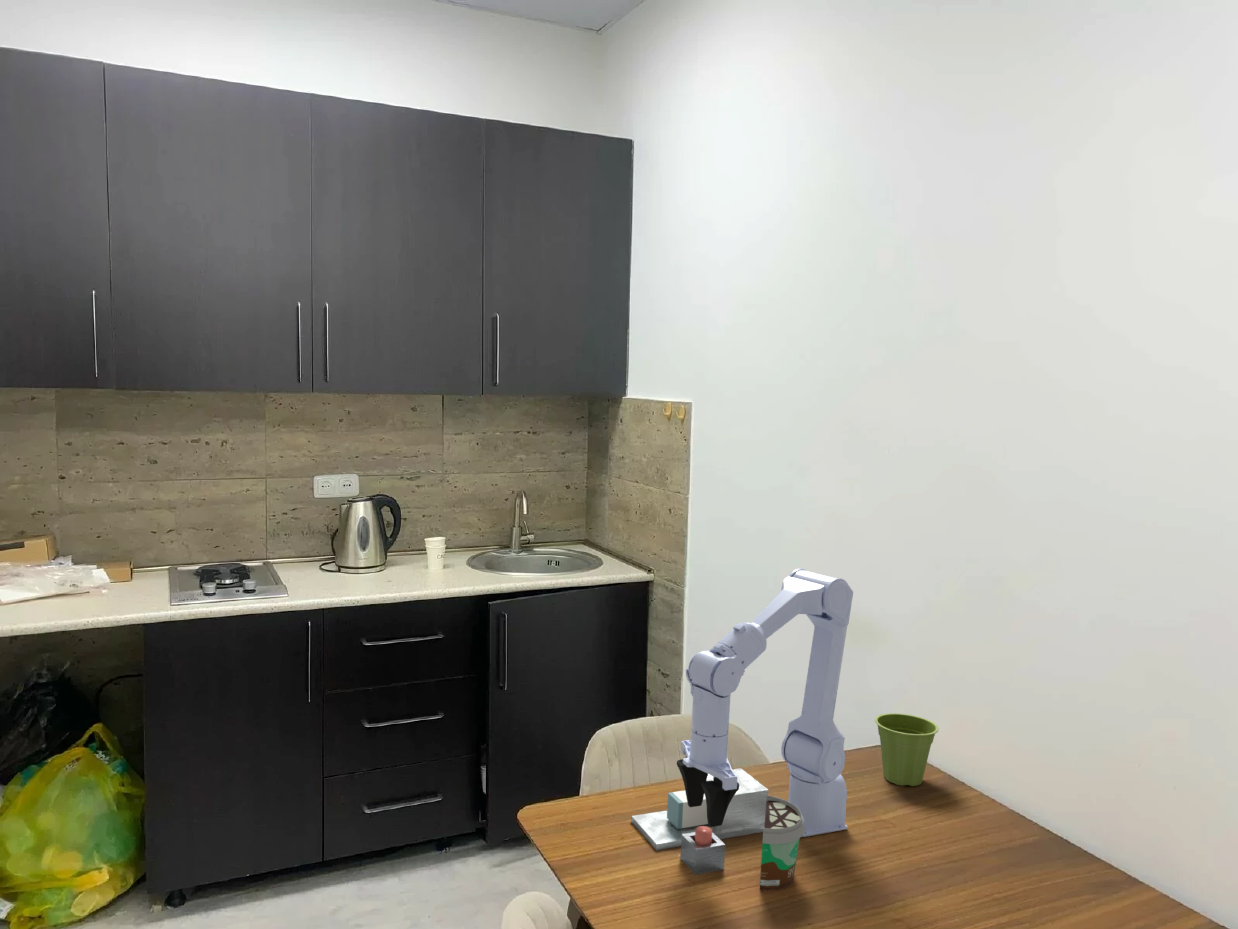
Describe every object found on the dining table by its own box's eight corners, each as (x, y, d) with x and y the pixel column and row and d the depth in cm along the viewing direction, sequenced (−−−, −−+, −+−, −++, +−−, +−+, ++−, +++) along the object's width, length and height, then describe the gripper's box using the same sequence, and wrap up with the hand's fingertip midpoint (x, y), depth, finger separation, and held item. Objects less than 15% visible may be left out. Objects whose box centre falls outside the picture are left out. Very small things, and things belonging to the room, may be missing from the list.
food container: (801, 902, 131) (806, 836, 130) (758, 895, 132) (763, 829, 132) (801, 859, 143) (805, 799, 142) (762, 853, 145) (766, 793, 144)
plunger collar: (708, 853, 144) (709, 829, 143) (723, 869, 139) (725, 844, 139) (680, 858, 142) (681, 834, 141) (695, 875, 137) (696, 849, 137)
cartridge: (737, 806, 158) (739, 781, 157) (749, 817, 154) (751, 791, 154) (666, 818, 152) (668, 791, 152) (677, 829, 149) (679, 802, 148)
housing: (738, 804, 161) (740, 767, 161) (768, 831, 152) (771, 791, 152) (631, 821, 153) (633, 782, 152) (656, 850, 144) (658, 808, 143)
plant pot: (936, 774, 179) (941, 719, 178) (931, 798, 168) (935, 739, 167) (875, 762, 184) (879, 708, 183) (866, 784, 173) (870, 727, 172)
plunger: (705, 849, 142) (707, 825, 142) (713, 857, 140) (715, 832, 139) (691, 852, 141) (692, 827, 141) (699, 860, 139) (700, 835, 138)
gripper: (665, 716, 144) (661, 798, 145) (709, 751, 130) (704, 841, 131) (704, 712, 146) (700, 792, 148) (751, 746, 133) (745, 834, 134)
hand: (704, 815), depth 140 cm, fingers open, 6 cm apart
